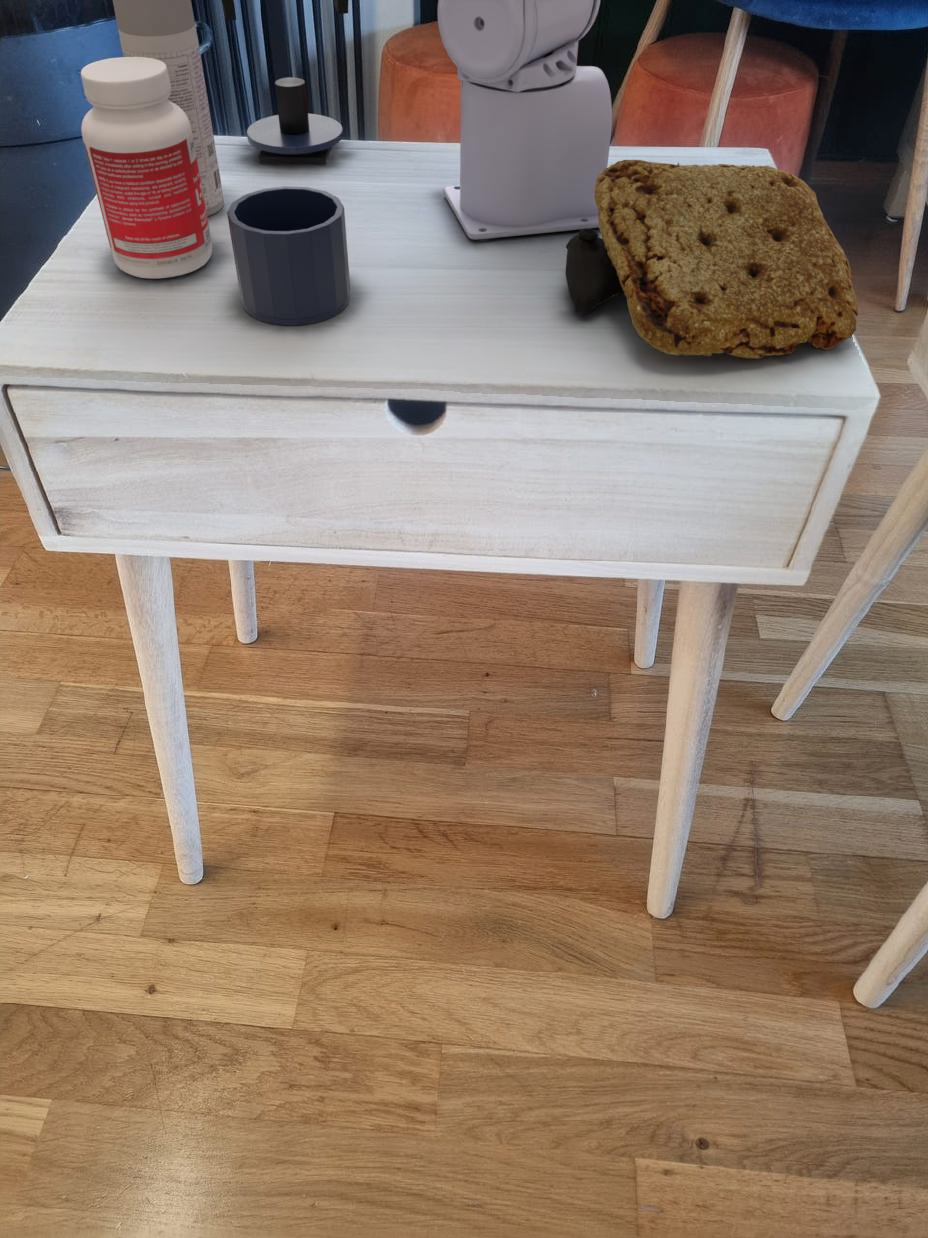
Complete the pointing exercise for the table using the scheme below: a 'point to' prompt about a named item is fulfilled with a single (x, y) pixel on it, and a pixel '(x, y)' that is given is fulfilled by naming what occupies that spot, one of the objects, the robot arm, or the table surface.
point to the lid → (294, 124)
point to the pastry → (724, 259)
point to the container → (176, 73)
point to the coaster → (295, 158)
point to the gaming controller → (590, 272)
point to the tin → (290, 254)
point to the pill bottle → (144, 169)
